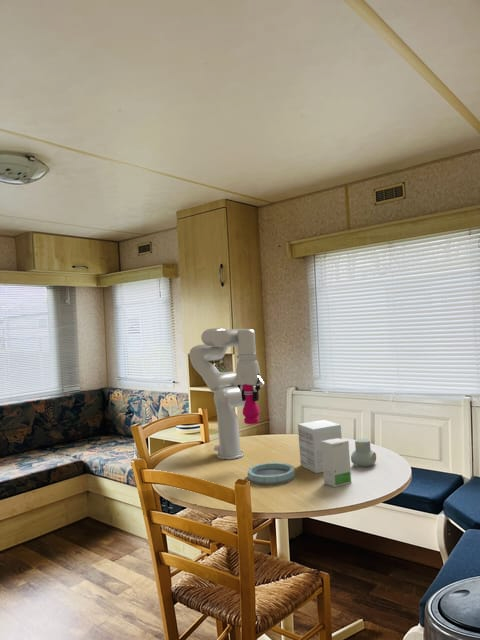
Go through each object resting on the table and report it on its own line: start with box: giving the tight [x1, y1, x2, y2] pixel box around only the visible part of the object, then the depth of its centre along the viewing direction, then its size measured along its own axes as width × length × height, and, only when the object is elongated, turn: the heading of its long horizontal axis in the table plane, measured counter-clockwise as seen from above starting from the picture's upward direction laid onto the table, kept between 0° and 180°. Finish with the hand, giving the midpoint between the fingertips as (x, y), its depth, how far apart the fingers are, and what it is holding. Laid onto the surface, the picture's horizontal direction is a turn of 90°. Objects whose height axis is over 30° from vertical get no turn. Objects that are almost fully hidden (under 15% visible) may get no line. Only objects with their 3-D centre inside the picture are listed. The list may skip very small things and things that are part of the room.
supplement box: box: [297, 419, 343, 474], centre depth 197 cm, size 13×13×18 cm
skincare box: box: [321, 438, 352, 488], centre depth 176 cm, size 8×7×16 cm
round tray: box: [247, 461, 296, 486], centre depth 188 cm, size 18×18×3 cm
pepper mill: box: [242, 384, 261, 425], centre depth 205 cm, size 7×7×20 cm
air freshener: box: [350, 438, 377, 468], centre depth 195 cm, size 11×8×10 cm
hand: (250, 400), depth 205 cm, fingers closed on pepper mill, 5 cm apart
